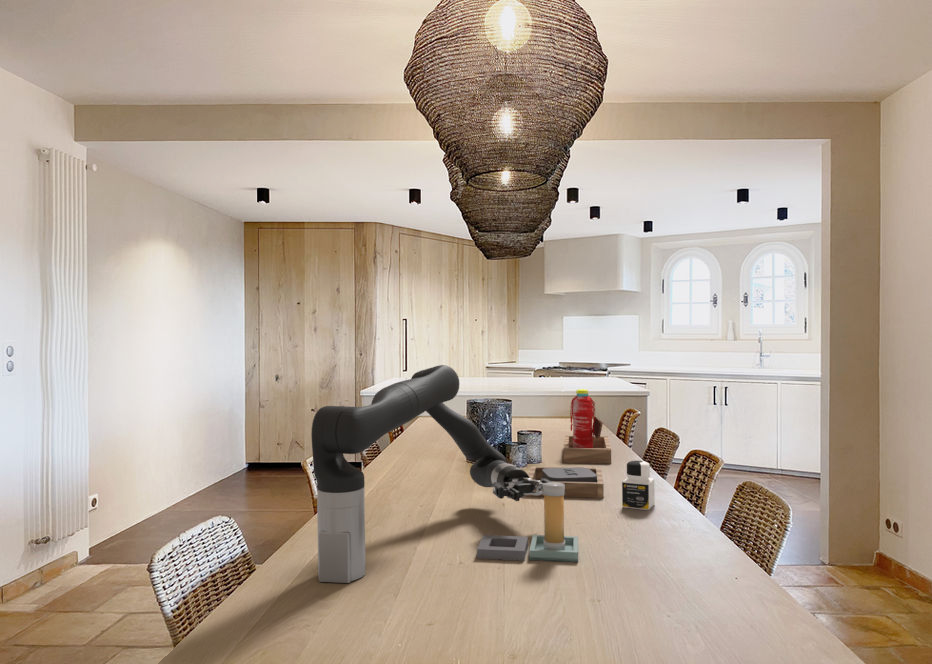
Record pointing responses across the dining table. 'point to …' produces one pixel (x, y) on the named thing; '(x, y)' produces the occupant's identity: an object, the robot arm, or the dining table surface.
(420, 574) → the dining table surface
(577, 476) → the streaming box
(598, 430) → the water bottle
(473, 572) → the dining table surface
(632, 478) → the medicine bottle
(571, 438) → the bottle rack
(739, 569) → the dining table surface
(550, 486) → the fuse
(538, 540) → the parts tray
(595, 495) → the square wooden tray
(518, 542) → the frame
